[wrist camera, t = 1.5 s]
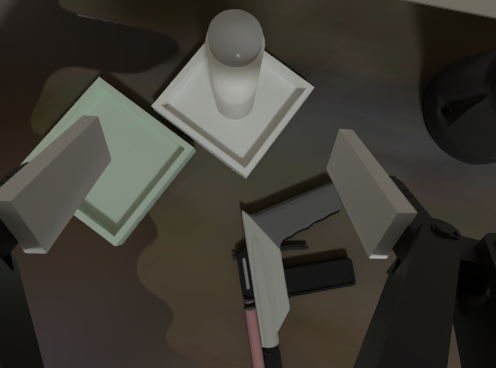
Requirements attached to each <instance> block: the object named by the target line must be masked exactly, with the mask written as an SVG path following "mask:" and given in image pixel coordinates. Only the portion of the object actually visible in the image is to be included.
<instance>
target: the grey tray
mask: <svg viewBox="0 0 496 368" xmlns="http://www.w3.org/2000/svg"><path fill="white" fill-rule="evenodd" d="M313 89H314V87H313V86H312V85H310V84H309V83H308V82H306V81H305V80H304V79H302V78H301V77H299V76H298V75H297V74H295V73H294V72H293V71H291V70H290V69H289V68H287V67H286V66H285V65H283V64H282V63H280V62H279V61H278V60H276V59H275V58H274V57H272V56H271V55H270V54H268V53H267V52H265V51H264V53H263V58H262V63H261V69H260V74H259V79H258V84H257V90H256V95H255V100H254V105H253V109H252V111H251V112H250V113H249V114H248V115H247V116H246V117H244V118H242V119H238V120H232V119H228V118H226V117H224V116H223V115H221V114H220V113H219V111H218V110H217V107H216V104H215V98H214V92H213V86H212V80H211V74H210V68H209V62H208V56H207V50H206V42H205V43H204V44H203V46H202V47H201V48H200V49H199V50H198V51H197V53H196V54H195V55H194V56H193V57H192V59H191V60H190V61H189V62H188V63H187V65H186V66H185V67H184V68H183V69H182V70H181V72H180V73H179V74H178V75H177V76H176V78H175V79H174V80H173V81H172V82H171V83H170V85H169V86H168V87H167V88H166V89H165V91H164V92H163V93H162V94H161V95H160V96H159V98H158V99H157V100H156V101H155V102H154V104H153V105H152V107H153V109H154V110H155V111H156V112H157V113H158V114H159V115H161V116H162V117H163V118H165V119H166V120H167V121H169V122H170V123H171V124H173V125H174V126H175V127H177V128H178V129H179V130H181V131H182V132H183V133H185V134H186V135H187V136H189V137H190V138H191V139H193V140H194V141H196V142H197V143H198V144H200V145H201V146H202V147H204V148H205V149H206V150H208V151H209V152H210V153H212V154H213V155H214V156H216V157H217V158H218V159H220V160H221V161H222V162H224V163H225V164H226V165H228V166H229V167H230V168H232V169H233V170H234V171H236V172H237V173H238V174H240V175H241V176H242V177H244V178H245V179H246V178H247V177H248V176H249V174H250V173H251V172H252V170H253V169H254V168H255V166H256V165H257V164H258V162H259V161H260V160H261V158H262V157H263V156H264V154H265V153H266V152H267V150H268V149H269V148H270V146H271V145H272V144H273V142H274V141H275V140H276V138H277V137H278V136H279V134H280V133H281V132H282V130H283V129H284V128H285V126H286V125H287V124H288V122H289V121H290V120H291V118H292V117H293V116H294V114H295V113H296V112H297V110H298V109H299V108H300V106H301V105H302V104H303V102H304V101H305V100H306V98H307V97H308V96H309V95H310V93H311V92H312V90H313Z"/></svg>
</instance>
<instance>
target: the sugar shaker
mask: <svg viewBox="0 0 496 368" xmlns="http://www.w3.org/2000/svg"><path fill="white" fill-rule="evenodd" d="M264 48H265V39H264V35H263V32H262V28H261V26H260V24H259V22H258V21H257V19H256V18H255V17H254V16H252V15H251V14H250V13H248V12H246V11H243V10H238V9H231V10H226V11H223V12H221V13H219V14H218V15H217V16H215V17H214V19H213V20H212V21H211V23H210V25H209V29H208V32H207V35H206V50H207V56H208V62H209V68H210V74H211V80H212V86H213V92H214V98H215V104H216V107H217V110H218V111H219V113H220V114H221V115H223V116H224V117H226V118H228V119H232V120H238V119H242V118H244V117H246V116H247V115H248V114H249V113H250V112H251V111H252V109H253V105H254V100H255V95H256V90H257V84H258V79H259V74H260V69H261V63H262V58H263V53H264Z"/></svg>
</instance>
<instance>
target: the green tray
mask: <svg viewBox="0 0 496 368" xmlns="http://www.w3.org/2000/svg"><path fill="white" fill-rule="evenodd" d="M83 115H87V116H98V117H99V120H100V124H101V127H102V130H103V133H104V137H105V140H106V143H107V146H108V150H109V153H110V156H111V159H112V160H111V162H110V163H109V165H108V166H107V167H106V169H105V170H104V172H103V173H102V175H101V176H100V177H99V179H98V180H97V182H96V183H95V185H94V186H93V187H92V189H91V190H90V192H89V193H88V195H87V196H86V197H85V199H84V200H83V202H82V203H81V205H80V206H79V207H78V209H77V210H76V212H75V213H74V215H75V216H76V217H77V218H79V219H80V220H81V221H83V222H84V223H85V224H87V225H88V226H89V227H91V228H92V229H94V230H95V231H96V232H97V233H98V234H100V235H101V236H102V237H104V238H105V239H106V240H108V241H109V242H110V243H112V244H113V245H114V246H117V245H121V244H123V243H124V242H125V240H126V239H127V238H128V237H129V235H130V234H131V233H132V231H133V230H134V229H135V228H136V226H137V225H138V224H139V222H140V221H141V220H142V219H143V218H144V216H145V215H146V214H147V213H148V211H149V210H150V209H151V208H152V206H153V205H154V204H155V203H156V201H157V200H158V199H159V198H160V196H161V195H162V194H163V193H164V191H165V190H166V189H167V187H168V186H169V185H170V184H171V182H172V181H173V180H174V179H175V177H176V176H177V175H178V174H179V172H180V171H181V170H182V169H183V167H184V166H185V165H186V164H187V162H188V161H189V160H190V159H191V157H192V156H193V155H194V154H195V152H196V150H195V149H194V147H192V146H191V145H190V144H188V143H187V142H186V141H184V140H183V139H182V138H180V137H179V136H178V135H176V134H175V133H174V132H172V131H171V130H170V129H168V128H167V127H166V126H164V125H163V124H162V123H160V122H159V121H158V120H156V119H155V118H154V117H152V116H151V115H150V114H148V113H147V112H146V111H144V110H143V109H142V108H140V107H139V106H138V105H136V104H135V103H134V102H132V101H131V100H129V99H128V98H127V97H125V96H124V95H123V94H121V93H120V92H119V91H117V90H116V89H115V88H113V87H112V86H111V85H109V84H108V83H107V82H105V81H104V80H103V79H101V78H100V77H98V78H97V80H96V81H95V82H94V83H93V84H92V85H91V86H90V87H89V89H88V90H87V91H86V92H85V93H84V94H83V95H82V96H81V98H80V99H79V100H78V101H77V102H76V103H75V104H74V105H73V107H72V108H71V109H70V110H69V111H68V112H67V113H66V114H65V115H64V117H63V118H62V119H61V120H60V121H59V122H58V123H57V124H56V126H55V127H54V128H53V129H52V130H51V131H50V132H49V133H48V135H47V136H46V137H45V138H44V139H43V140H42V141H41V142H40V144H39V145H38V146H37V147H36V148H35V149H34V150H33V151H32V153H31V154H30V155H29V156H28V157H27V158H26V159H25V160H24V161H23V163H22V164H24V163H26V162H30V161H31V160H32V159H33V158H35V157H36V156H37V155H38V154H39V153H40V152H41V151H43V150H44V149H45V148H46V147H47V146H48V145H49V144H51V143H52V142H53V141H54V140H55V139H56V138H58V137H59V136H60V135H61V134H62V133H63V132H64V131H66V130H67V129H68V128H69V127H70V126H71V125H72V124H74V123H75V122H76V121H77V120H78V119H79V118H80V117H82V116H83ZM22 164H21V165H22Z"/></svg>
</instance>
